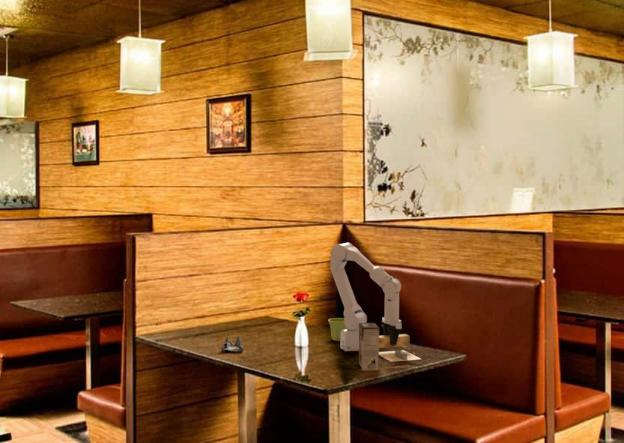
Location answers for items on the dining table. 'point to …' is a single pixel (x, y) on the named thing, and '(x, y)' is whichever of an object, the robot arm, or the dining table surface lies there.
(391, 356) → the serving board
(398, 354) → the fulcrum strip
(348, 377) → the dining table surface
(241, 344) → the grey irregular piece
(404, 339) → the oak bar
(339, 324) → the plant pot
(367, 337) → the coffee box
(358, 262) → the robot arm
